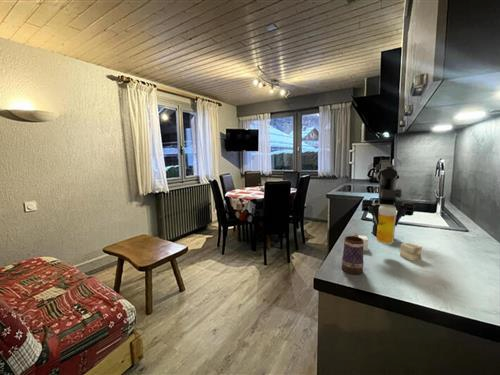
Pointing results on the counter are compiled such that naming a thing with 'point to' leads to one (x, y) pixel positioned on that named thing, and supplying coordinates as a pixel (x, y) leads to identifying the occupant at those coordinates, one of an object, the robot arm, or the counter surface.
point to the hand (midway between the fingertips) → (386, 224)
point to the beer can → (386, 224)
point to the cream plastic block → (364, 242)
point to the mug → (353, 255)
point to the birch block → (410, 251)
